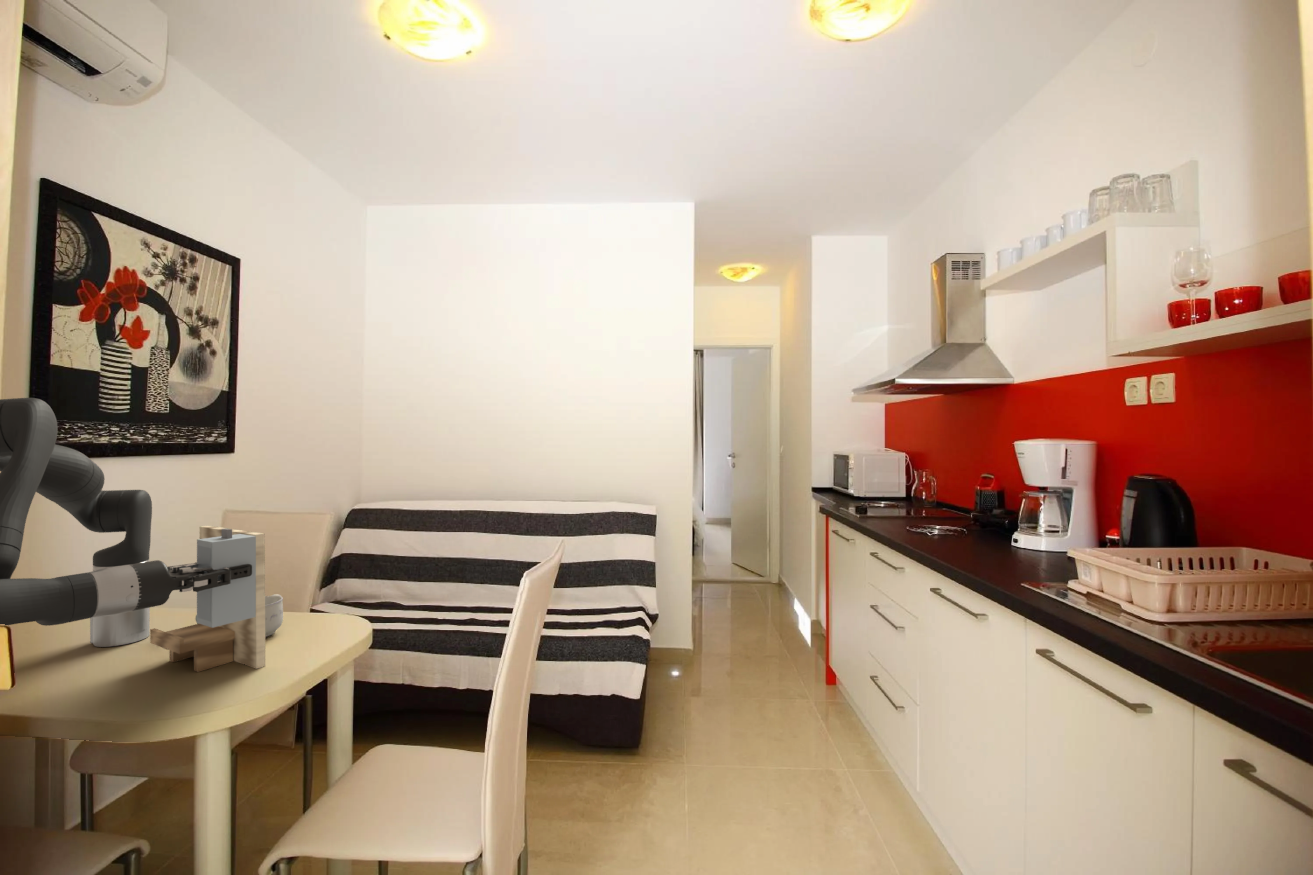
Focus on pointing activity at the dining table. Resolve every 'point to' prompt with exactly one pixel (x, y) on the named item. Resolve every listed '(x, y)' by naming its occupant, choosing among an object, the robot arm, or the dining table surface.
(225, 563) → the bottle
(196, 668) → the wooden display stand
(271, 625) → the teacup
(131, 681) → the dining table surface
